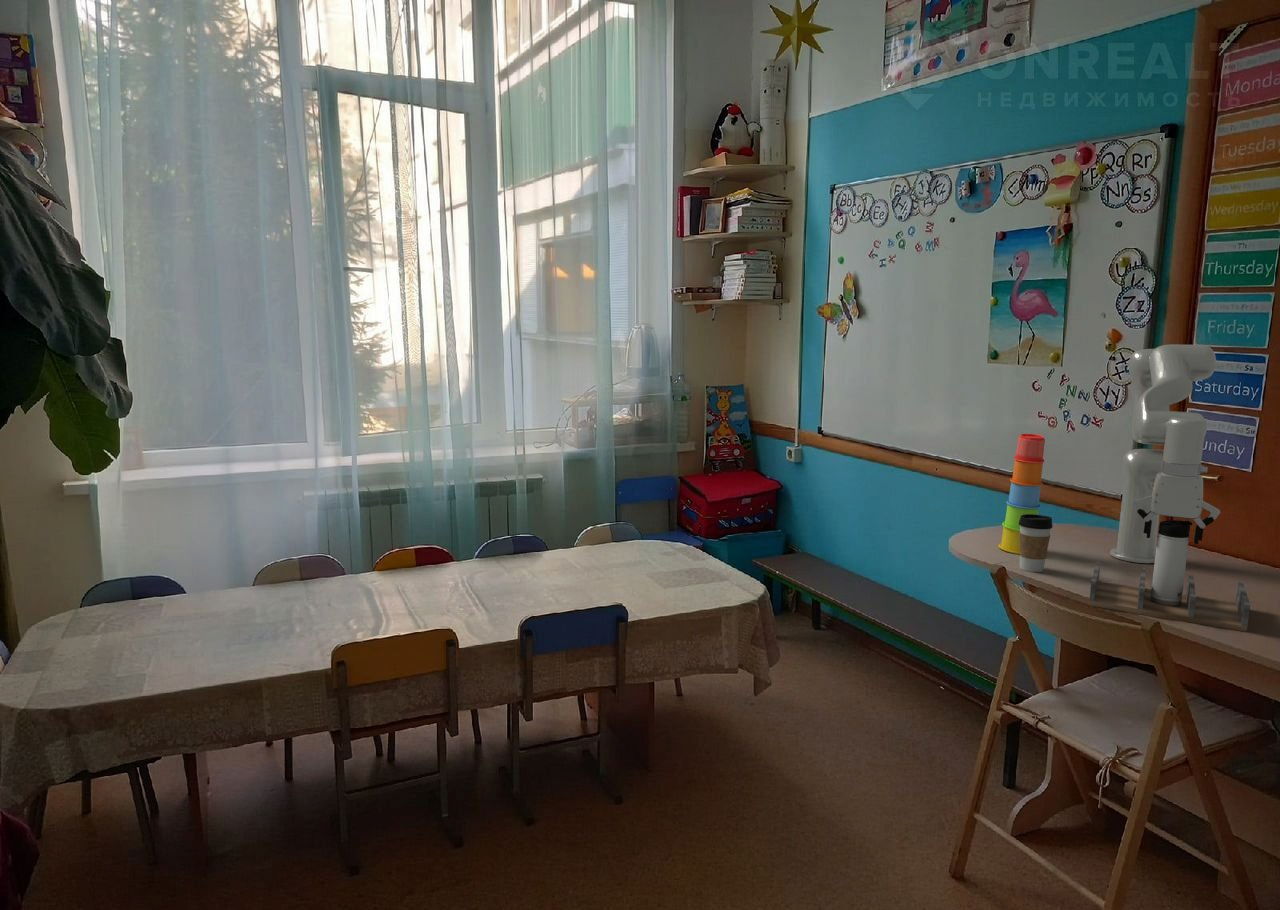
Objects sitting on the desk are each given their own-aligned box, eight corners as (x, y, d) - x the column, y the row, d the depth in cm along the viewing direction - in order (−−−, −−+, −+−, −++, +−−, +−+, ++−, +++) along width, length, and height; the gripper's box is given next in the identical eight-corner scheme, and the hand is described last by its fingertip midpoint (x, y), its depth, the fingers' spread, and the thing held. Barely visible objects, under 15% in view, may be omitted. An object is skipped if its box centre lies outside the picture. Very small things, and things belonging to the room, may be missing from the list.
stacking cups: (1030, 545, 251) (1040, 432, 245) (1040, 555, 241) (1051, 437, 235) (994, 544, 253) (1003, 431, 247) (1003, 553, 243) (1012, 436, 237)
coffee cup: (1036, 575, 223) (1041, 521, 221) (1008, 567, 230) (1012, 514, 228) (1054, 570, 228) (1060, 517, 225) (1026, 562, 235) (1031, 510, 232)
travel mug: (1187, 607, 196) (1197, 525, 193) (1156, 605, 198) (1165, 523, 194) (1176, 598, 203) (1185, 518, 199) (1146, 596, 204) (1155, 517, 200)
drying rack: (1093, 584, 216) (1096, 561, 215) (1239, 607, 200) (1243, 582, 199) (1088, 605, 201) (1091, 580, 200) (1246, 631, 185) (1250, 605, 184)
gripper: (1224, 470, 193) (1214, 541, 197) (1138, 462, 202) (1130, 530, 206) (1226, 476, 187) (1216, 549, 190) (1137, 468, 196) (1129, 538, 199)
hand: (1171, 539), depth 198 cm, fingers open, 9 cm apart
